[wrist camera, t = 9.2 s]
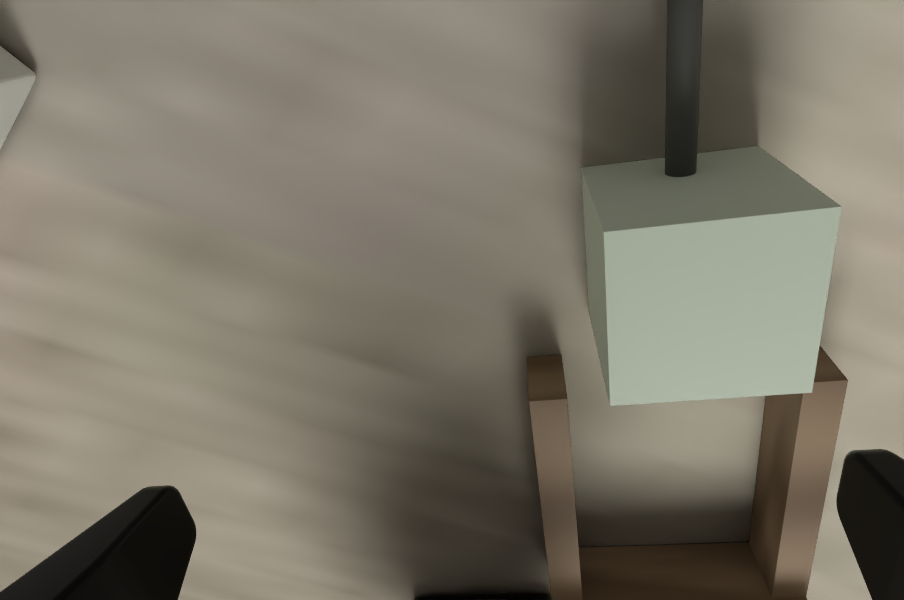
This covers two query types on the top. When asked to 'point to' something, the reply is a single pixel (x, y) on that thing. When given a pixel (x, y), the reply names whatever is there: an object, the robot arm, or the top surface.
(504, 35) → the top surface
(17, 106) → the milk carton
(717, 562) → the walnut lane
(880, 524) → the robot arm
